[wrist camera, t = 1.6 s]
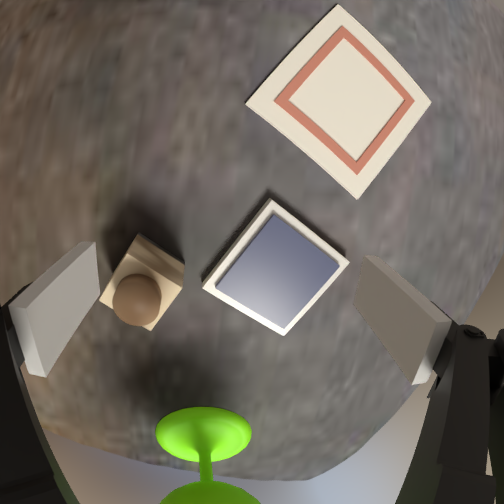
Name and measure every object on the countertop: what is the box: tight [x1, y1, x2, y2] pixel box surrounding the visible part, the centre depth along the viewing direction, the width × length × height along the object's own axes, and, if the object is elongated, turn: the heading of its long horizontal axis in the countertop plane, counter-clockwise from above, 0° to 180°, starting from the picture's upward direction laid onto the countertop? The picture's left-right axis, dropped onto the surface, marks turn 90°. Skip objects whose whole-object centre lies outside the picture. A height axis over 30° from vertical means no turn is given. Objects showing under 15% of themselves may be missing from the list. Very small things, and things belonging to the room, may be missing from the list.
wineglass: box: [155, 407, 260, 504], centre depth 38 cm, size 16×16×18 cm
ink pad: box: [202, 198, 349, 336], centre depth 36 cm, size 12×12×2 cm
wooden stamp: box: [99, 232, 185, 331], centre depth 31 cm, size 6×6×8 cm
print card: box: [245, 5, 431, 199], centre depth 30 cm, size 16×16×1 cm
